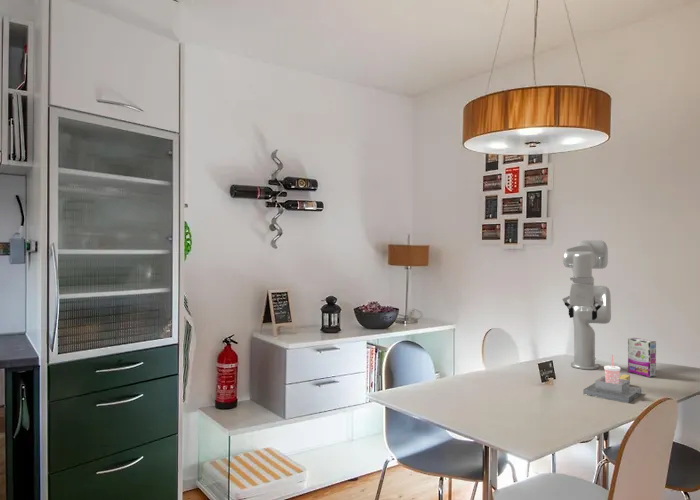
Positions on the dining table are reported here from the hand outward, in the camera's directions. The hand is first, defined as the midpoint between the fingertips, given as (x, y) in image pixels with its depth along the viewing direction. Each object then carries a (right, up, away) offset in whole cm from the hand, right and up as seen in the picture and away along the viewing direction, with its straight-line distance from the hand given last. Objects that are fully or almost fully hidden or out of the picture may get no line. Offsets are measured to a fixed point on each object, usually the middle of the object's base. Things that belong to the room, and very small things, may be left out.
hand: (582, 318), depth 232 cm
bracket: (+12, -28, -11) cm, 32 cm away
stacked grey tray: (+4, -29, -19) cm, 35 cm away
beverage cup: (+4, -27, -19) cm, 33 cm away
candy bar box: (+33, -28, +11) cm, 45 cm away
